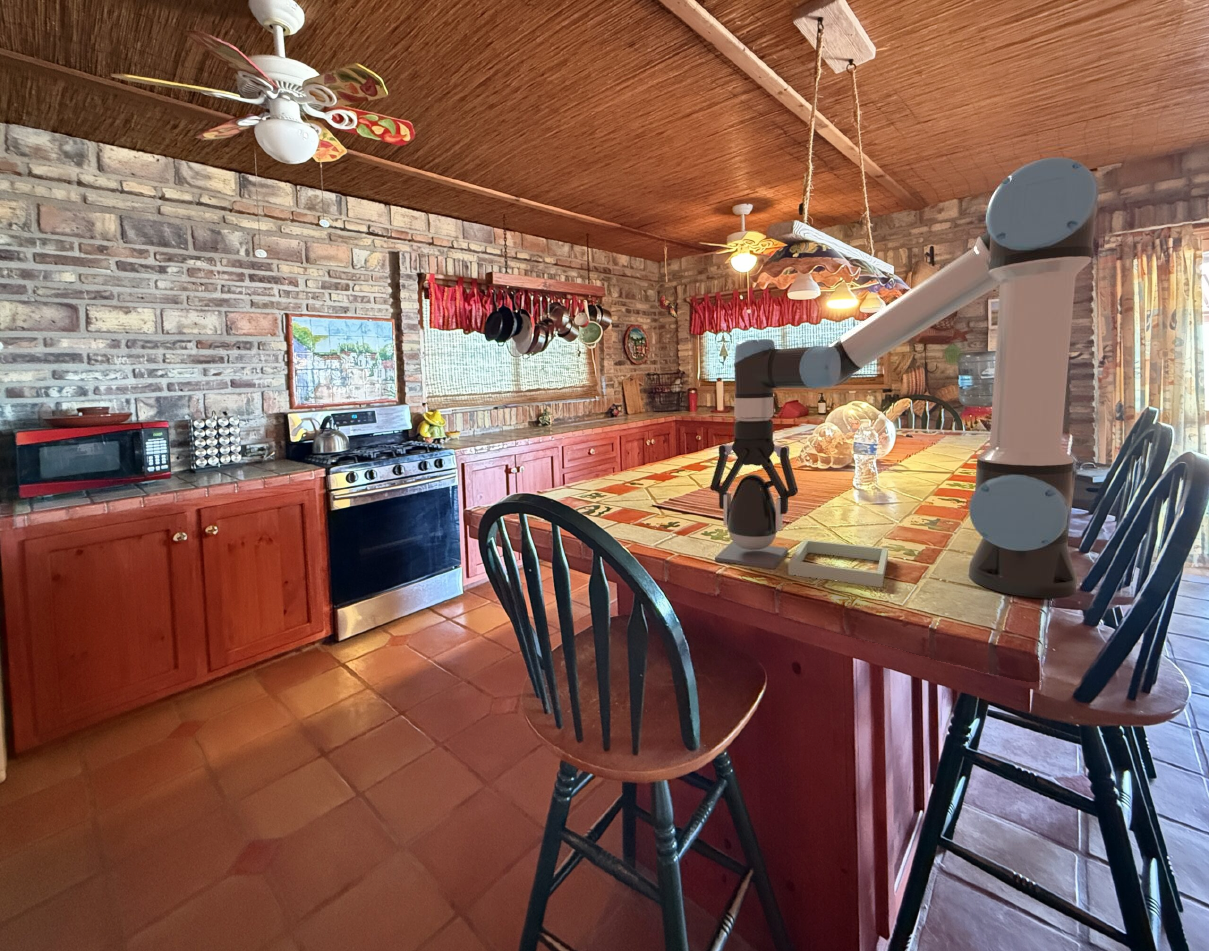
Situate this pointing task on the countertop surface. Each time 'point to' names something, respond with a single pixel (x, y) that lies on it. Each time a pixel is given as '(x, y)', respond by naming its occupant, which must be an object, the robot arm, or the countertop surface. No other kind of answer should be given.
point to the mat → (752, 556)
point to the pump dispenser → (752, 514)
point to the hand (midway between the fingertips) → (752, 526)
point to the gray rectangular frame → (836, 572)
